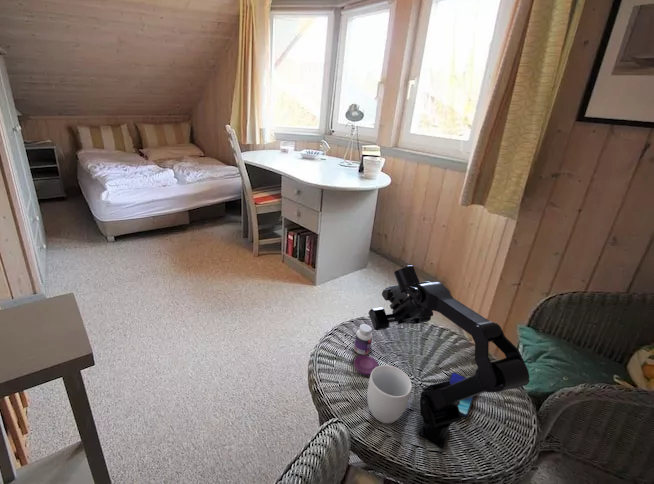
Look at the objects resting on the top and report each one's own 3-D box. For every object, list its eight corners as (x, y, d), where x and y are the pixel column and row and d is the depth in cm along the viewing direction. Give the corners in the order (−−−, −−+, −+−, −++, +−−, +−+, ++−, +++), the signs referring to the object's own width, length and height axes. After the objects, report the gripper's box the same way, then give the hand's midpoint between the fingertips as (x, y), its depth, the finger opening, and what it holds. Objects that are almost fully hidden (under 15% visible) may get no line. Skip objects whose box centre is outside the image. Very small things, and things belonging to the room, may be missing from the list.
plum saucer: (371, 379, 112) (372, 377, 112) (349, 367, 116) (349, 364, 116) (382, 365, 118) (382, 362, 117) (360, 353, 122) (360, 351, 122)
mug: (386, 384, 111) (394, 352, 105) (418, 409, 103) (428, 376, 97) (355, 410, 102) (362, 377, 96) (387, 438, 94) (396, 404, 89)
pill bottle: (368, 357, 121) (372, 334, 117) (352, 352, 122) (356, 330, 118) (370, 346, 125) (374, 324, 121) (355, 342, 127) (358, 321, 123)
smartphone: (477, 383, 111) (467, 416, 100) (477, 385, 111) (466, 418, 100) (452, 371, 115) (439, 401, 104) (451, 373, 115) (439, 404, 104)
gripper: (428, 277, 107) (404, 296, 120) (373, 284, 103) (354, 304, 116) (443, 312, 102) (416, 328, 115) (386, 322, 97) (365, 337, 110)
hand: (388, 323), depth 114 cm, fingers open, 9 cm apart
